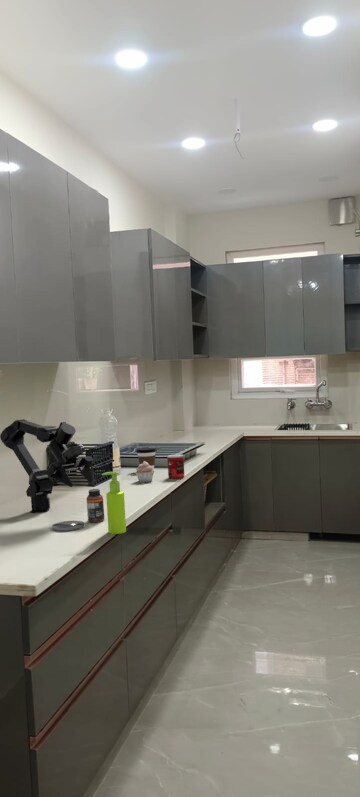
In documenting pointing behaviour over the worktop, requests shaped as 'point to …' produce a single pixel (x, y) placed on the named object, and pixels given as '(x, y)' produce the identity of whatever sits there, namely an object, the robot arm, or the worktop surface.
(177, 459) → the canned food
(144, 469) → the cupcake
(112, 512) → the soap dispenser
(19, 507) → the worktop surface
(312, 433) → the worktop surface
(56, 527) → the dark gray plate
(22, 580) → the worktop surface
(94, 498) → the supplement bottle
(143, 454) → the coffee cup
